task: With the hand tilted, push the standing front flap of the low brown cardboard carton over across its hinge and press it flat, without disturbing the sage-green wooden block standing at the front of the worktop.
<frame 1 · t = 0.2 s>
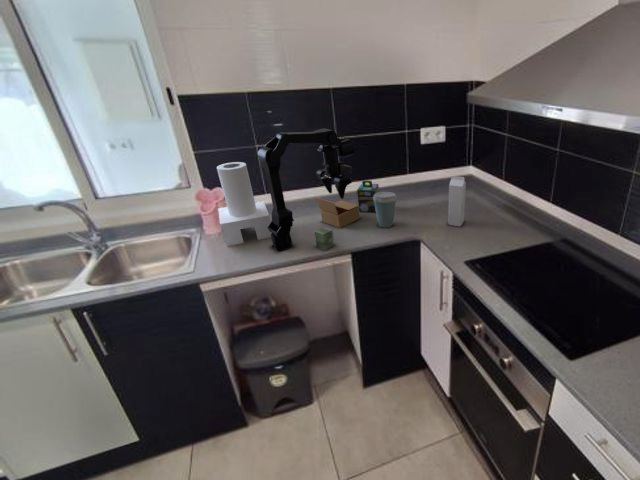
hand: (336, 195, 165), 15 cm above the worktop, tool pointing down, fingers open, 9 cm apart
milk: (456, 223, 174), on the worktop
carton: (341, 220, 178), on the worktop
block: (325, 246, 155), on the worktop
paper towel holder: (248, 233, 167), on the worktop
chalk box: (369, 209, 190), on the worktop
disposable coffee cup: (386, 225, 173), on the worktop
flap: (326, 205, 169), point 10 cm above the worktop, hinge at 105.0°
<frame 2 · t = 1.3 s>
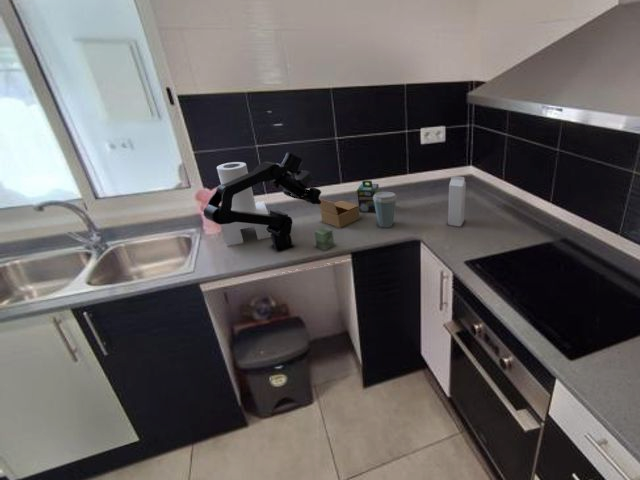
hand: (315, 201, 163), 13 cm above the worktop, tool tilted 45°, fingers open, 7 cm apart
nothing on the worktop moved.
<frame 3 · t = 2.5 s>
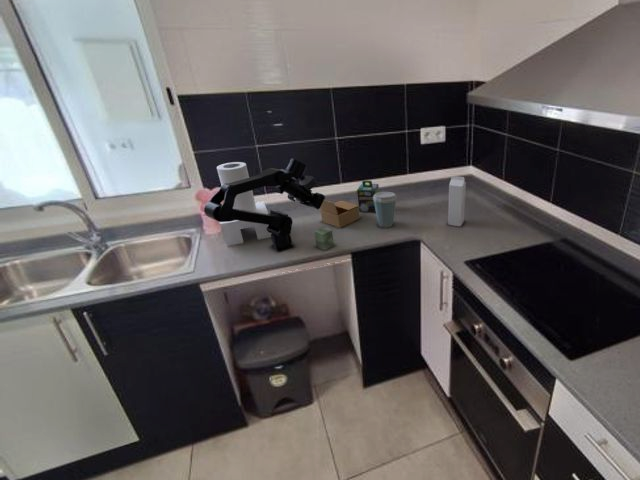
hand: (318, 206, 165), 11 cm above the worktop, tool tilted 45°, fingers closed
nothing on the worktop moved.
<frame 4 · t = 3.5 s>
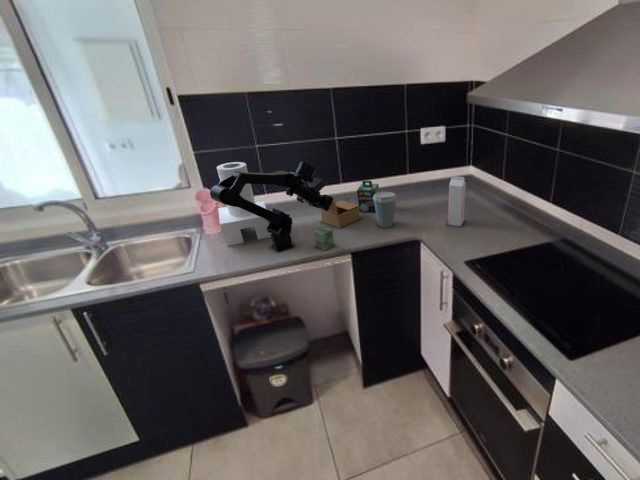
hand: (327, 207, 169), 9 cm above the worktop, tool tilted 45°, fingers closed, pressing on flap
flap: (327, 205, 169), point 10 cm above the worktop, hinge at 98.9°, touching gripper
everything else where it was.
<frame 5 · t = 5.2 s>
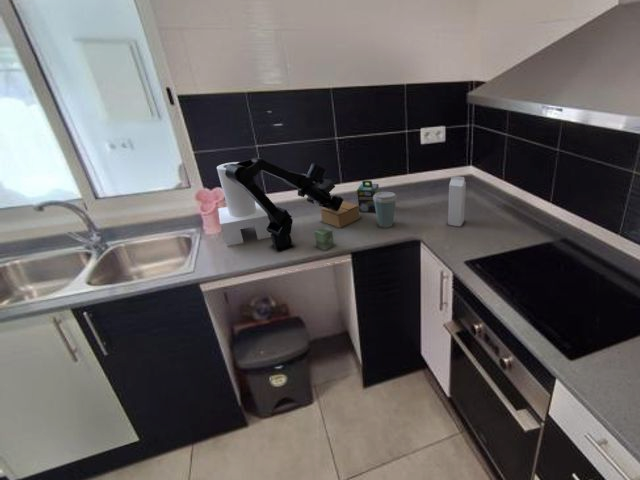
hand: (336, 208, 174), 7 cm above the worktop, tool tilted 45°, fingers closed, pressing on flap
flap: (334, 209, 173), point 6 cm above the worktop, hinge at -2.5°, touching gripper
everything else where it was.
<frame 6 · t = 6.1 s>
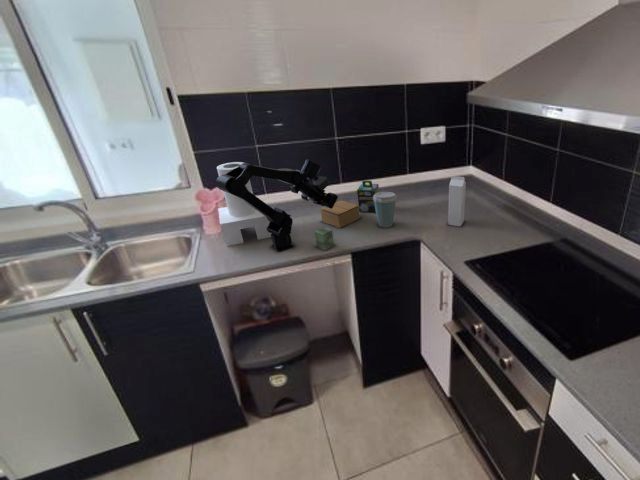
hand: (331, 205, 171), 9 cm above the worktop, tool tilted 45°, fingers closed
flap: (334, 209, 173), point 6 cm above the worktop, hinge at -1.4°
everything else where it was.
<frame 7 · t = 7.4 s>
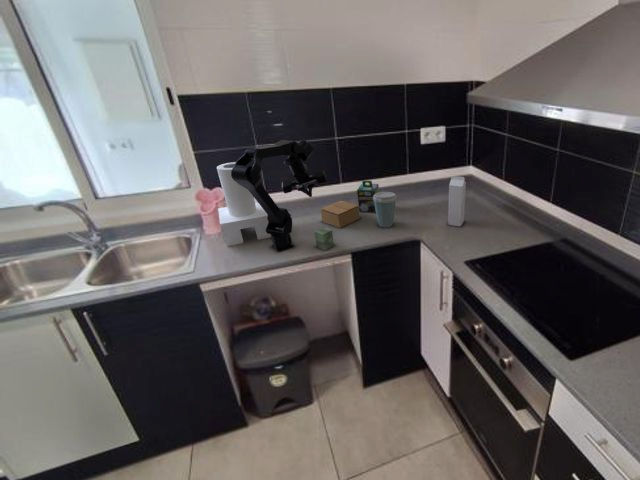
hand: (311, 196, 169), 13 cm above the worktop, tool tilted 20°, fingers closed
nothing on the worktop moved.
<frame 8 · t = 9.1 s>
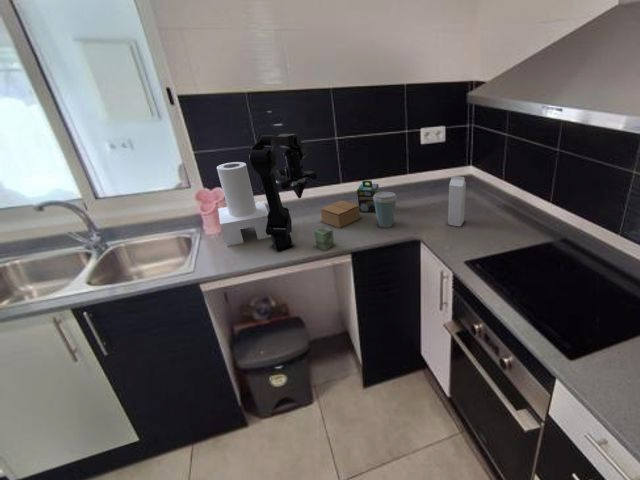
hand: (299, 198, 171), 12 cm above the worktop, tool pointing down, fingers closed
nothing on the worktop moved.
at the end: flap at -1° (first picture: +105°); block moved 0.0 cm from its start; the gripper is holding nothing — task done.
